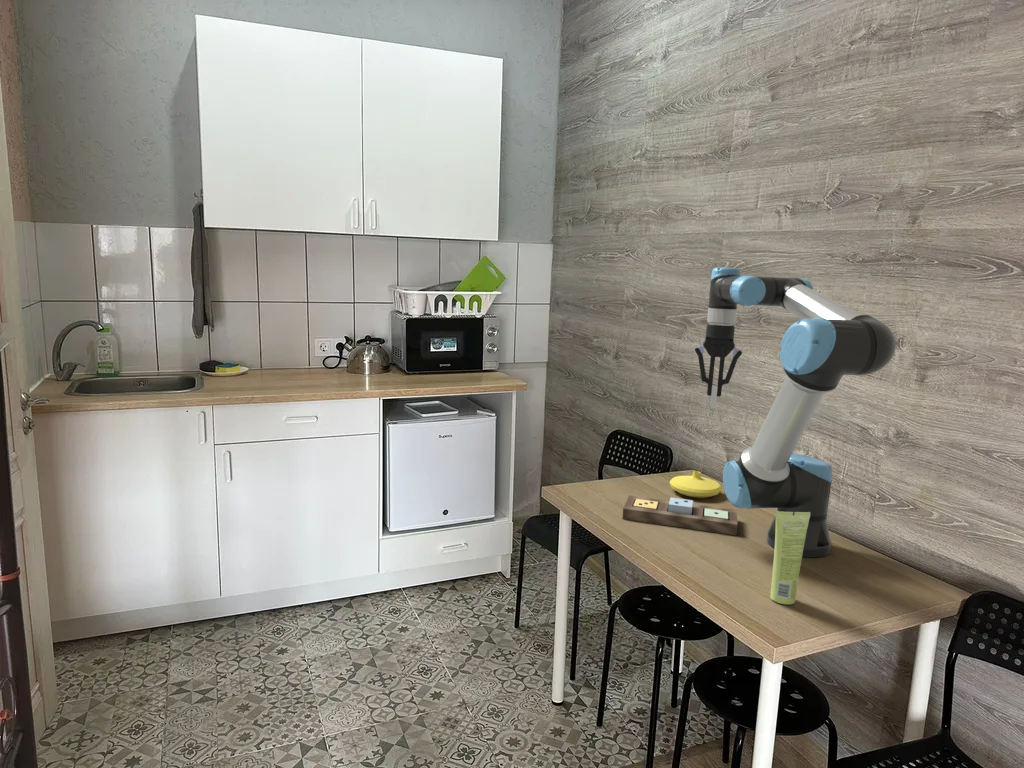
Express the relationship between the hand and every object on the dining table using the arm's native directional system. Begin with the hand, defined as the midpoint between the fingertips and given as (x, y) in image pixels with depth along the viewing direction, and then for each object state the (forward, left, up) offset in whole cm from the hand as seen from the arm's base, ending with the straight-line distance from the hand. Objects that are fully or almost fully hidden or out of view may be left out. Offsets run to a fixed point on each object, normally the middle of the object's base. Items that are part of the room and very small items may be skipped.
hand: (712, 407), depth 194 cm
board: (+6, +11, -31) cm, 33 cm away
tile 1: (-4, +11, -30) cm, 32 cm away
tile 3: (+15, +11, -30) cm, 36 cm away
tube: (-18, +52, -31) cm, 63 cm away
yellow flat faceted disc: (+3, -15, -31) cm, 34 cm away
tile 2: (+6, +11, -29) cm, 31 cm away
